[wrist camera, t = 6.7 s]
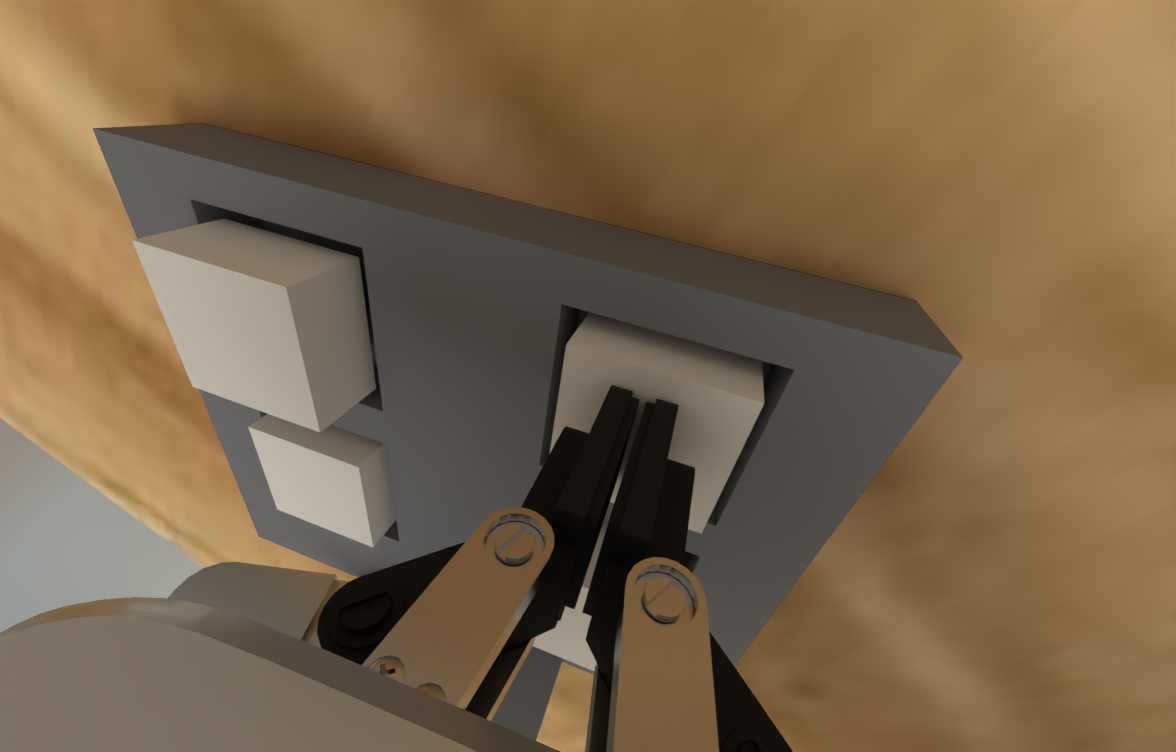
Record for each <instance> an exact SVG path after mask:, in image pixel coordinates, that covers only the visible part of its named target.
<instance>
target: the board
mask: <svg viewBox="0 0 1176 752" xmlns="http://www.w3.org/2000/svg"><path fill="white" fill-rule="evenodd" d="M93 131H94V133H95V135H96V138H97V140H98V143H99V145H100V148H101V150H102V153H103V155H104V158H105V160H106V162H107V165H108V167H109V170H110V172H111V175H112V177H113V180H114V182H115V185H116V187H117V189H118V192H119V194H120V197H121V199H122V202H123V204H124V207H125V209H126V212H127V214H128V216H129V219H130V221H131V224H132V226H133V229H134V231H135V234H136V236H137V239H139V238H143V237H147V236H151V235H156V234H160V233H164V232H168V231H173V230H177V229H181V228H186V227H190V226H194V225H198V224H203V223H207V222H211V221H215V220H220V219H227V220H231V221H234V222H238V223H241V224H245V225H248V226H252V227H255V228H259V229H262V230H266V231H269V232H273V233H276V234H280V235H283V236H287V237H290V238H294V239H297V240H301V241H304V242H308V243H311V244H315V245H318V246H322V247H325V248H329V249H332V250H336V251H339V252H343V253H346V254H350V255H353V256H357V257H359V261H360V269H361V277H362V284H363V292H364V299H365V307H366V315H367V322H368V330H369V337H370V345H371V353H372V360H373V368H374V375H375V383H376V389H375V390H374V391H372V392H371V393H370V394H369V395H367V396H366V397H365V398H363V399H362V400H361V401H360V402H358V403H357V404H356V405H355V406H353V407H352V408H351V409H349V410H348V411H347V412H346V413H344V414H343V415H342V416H341V417H339V418H338V419H337V420H336V421H334V422H333V423H332V424H330V425H332V426H335V427H338V428H341V429H344V430H346V431H349V432H352V433H355V434H358V435H361V436H363V437H366V438H369V439H372V440H375V441H377V442H380V443H383V444H386V445H387V447H388V455H389V463H390V471H391V479H392V487H393V495H394V503H395V511H396V521H395V522H394V523H393V524H392V526H391V527H390V528H389V529H388V530H387V532H386V533H385V534H384V535H383V536H382V538H381V539H380V540H379V541H378V542H377V544H376V545H375V546H374V547H370V546H368V545H365V544H363V543H360V542H358V541H355V540H353V539H350V538H348V537H345V536H343V535H340V534H338V533H335V532H333V531H330V530H328V529H325V528H323V527H320V526H318V525H315V524H313V523H310V522H308V521H305V520H303V519H300V518H298V517H295V516H293V515H290V514H288V513H285V512H282V511H280V510H277V507H276V505H275V502H274V499H273V496H272V493H271V490H270V488H269V485H268V482H267V479H266V476H265V473H264V470H263V468H262V465H261V462H260V459H259V456H258V453H257V451H256V448H255V445H254V442H253V439H252V436H251V433H250V431H249V428H248V426H250V425H251V424H253V423H254V422H256V421H257V420H259V419H260V418H262V417H263V416H265V415H266V414H267V413H264V412H262V411H259V410H256V409H253V408H250V407H248V406H245V405H242V404H239V403H237V402H234V401H231V400H228V399H226V398H223V397H220V396H217V395H214V394H212V393H209V392H206V391H203V390H201V389H199V391H200V393H201V396H202V398H203V401H204V403H205V405H206V408H207V410H208V413H209V415H210V418H211V420H212V423H213V425H214V428H215V430H216V432H217V435H218V437H219V440H220V442H221V445H222V447H223V450H224V452H225V455H226V457H227V459H228V462H229V464H230V467H231V469H232V472H233V474H234V477H235V479H236V482H237V484H238V486H239V489H240V491H241V494H242V496H243V499H244V501H245V504H246V506H247V509H248V511H249V513H250V516H251V518H252V521H253V523H254V526H255V528H256V531H257V533H258V536H259V537H261V538H264V539H266V540H269V541H271V542H273V543H276V544H278V545H281V546H283V547H286V548H288V549H290V550H293V551H295V552H298V553H300V554H303V555H305V556H307V557H310V558H312V559H315V560H317V561H320V562H322V563H324V564H327V565H329V566H332V567H334V568H337V569H339V570H341V571H344V572H346V573H349V574H351V575H353V576H356V577H358V578H359V577H360V576H361V574H362V573H365V574H370V573H373V572H376V571H379V570H382V569H385V568H388V567H391V566H394V565H397V564H400V563H403V562H406V561H409V560H412V559H415V558H418V557H421V556H424V555H427V554H430V553H433V552H436V551H439V550H442V549H445V548H448V547H451V546H454V545H457V544H460V543H463V542H466V541H467V540H468V538H469V537H470V536H471V535H472V534H473V532H474V531H475V530H476V529H477V528H478V527H479V525H480V524H481V523H482V522H483V521H484V520H485V519H486V518H487V517H488V516H490V515H491V514H492V513H495V512H497V511H499V510H501V509H505V508H511V507H520V508H521V506H522V504H523V502H524V501H525V499H526V497H527V495H528V493H529V491H530V489H531V488H532V486H533V484H534V482H535V480H536V478H537V476H538V475H539V473H540V471H541V469H542V467H543V465H544V463H545V462H546V460H547V458H548V456H549V454H550V447H551V440H552V434H553V427H554V421H555V414H556V408H557V401H558V395H559V388H560V382H561V375H562V369H563V362H564V356H565V349H566V344H567V343H568V341H569V340H570V338H571V337H572V336H573V334H574V333H575V332H576V330H577V329H578V328H579V326H580V325H581V323H582V322H583V321H584V319H585V318H586V317H587V315H588V314H589V312H591V313H595V314H598V315H602V316H605V317H609V318H613V319H616V320H620V321H623V322H627V323H630V324H634V325H637V326H641V327H644V328H648V329H652V330H655V331H659V332H662V333H666V334H669V335H673V336H676V337H680V338H683V339H687V340H690V341H694V342H698V343H701V344H705V345H708V346H712V347H715V348H719V349H722V350H726V351H729V352H733V353H737V354H740V355H744V356H747V357H751V358H754V359H758V360H761V361H762V369H763V387H764V405H763V407H762V409H761V411H760V413H759V415H758V418H757V420H756V422H755V424H754V426H753V428H752V430H751V432H750V434H749V436H748V438H747V440H746V442H745V444H744V447H743V449H742V451H741V453H740V455H739V457H738V459H737V461H736V463H735V465H734V467H733V469H732V471H731V474H730V476H729V478H728V480H727V482H726V484H725V486H724V488H723V490H722V492H721V494H720V496H719V498H718V500H717V503H716V505H715V507H714V509H713V511H712V513H711V515H710V517H709V519H708V521H707V523H706V525H705V527H704V529H703V532H702V534H700V533H698V532H695V531H692V530H689V529H688V532H687V540H686V548H685V556H684V564H683V566H684V567H686V568H687V569H689V571H690V572H691V573H692V574H693V575H694V576H695V577H696V578H697V579H698V581H699V583H700V585H701V587H702V588H703V590H704V593H705V598H706V602H707V611H708V623H709V631H710V632H711V634H712V635H713V637H714V638H715V640H716V641H717V643H718V644H719V645H720V647H721V648H722V650H723V651H724V653H725V654H726V656H727V657H728V658H729V660H730V661H731V663H732V664H733V666H734V665H735V663H736V662H737V661H738V659H739V658H740V657H741V655H742V654H743V653H744V651H745V650H746V649H747V647H748V646H749V645H750V643H751V642H752V641H753V639H754V638H755V637H756V635H757V634H758V633H759V631H760V630H761V628H762V627H763V626H764V624H765V623H766V622H767V620H768V619H769V618H770V616H771V615H772V614H773V612H774V611H775V610H776V608H777V607H778V606H779V604H780V603H781V602H782V600H783V599H784V598H785V596H786V595H787V594H788V592H789V591H790V590H791V588H792V587H793V585H794V584H795V583H796V581H797V580H798V579H799V577H800V576H801V575H802V573H803V572H804V571H805V569H806V568H807V567H808V565H809V564H810V563H811V561H812V560H813V559H814V557H815V556H816V555H817V553H818V552H819V551H820V549H821V548H822V547H823V545H824V544H825V542H826V541H827V540H828V538H829V537H830V536H831V534H832V533H833V532H834V530H835V529H836V528H837V526H838V525H839V524H840V522H841V521H842V520H843V518H844V517H845V516H846V514H847V513H848V512H849V510H850V509H851V508H852V506H853V505H854V504H855V502H856V501H857V499H858V498H859V497H860V495H861V494H862V493H863V491H864V490H865V489H866V487H867V486H868V485H869V483H870V482H871V481H872V479H873V478H874V477H875V475H876V474H877V473H878V471H879V470H880V469H881V467H882V466H883V465H884V463H885V462H886V461H887V459H888V458H889V456H890V455H891V454H892V452H893V451H894V450H895V448H896V447H897V446H898V444H899V443H900V442H901V440H902V439H903V438H904V436H905V435H906V434H907V432H908V431H909V430H910V428H911V427H912V426H913V424H914V423H915V422H916V420H917V419H918V418H919V416H920V415H921V413H922V412H923V411H924V409H925V408H926V407H927V405H928V404H929V403H930V401H931V400H932V399H933V397H934V396H935V395H936V393H937V392H938V391H939V389H940V388H941V387H942V385H943V384H944V383H945V381H946V380H947V379H948V377H949V376H950V375H951V373H952V372H953V370H954V369H955V368H956V366H957V365H958V364H959V362H960V361H961V360H962V358H963V357H962V356H961V355H960V353H959V352H958V351H957V350H956V349H955V347H954V346H953V345H952V344H951V343H950V341H949V340H948V339H947V338H946V337H945V335H944V334H943V333H942V332H941V330H940V329H939V328H938V327H937V326H936V324H935V323H934V322H933V321H932V320H931V318H930V317H929V316H928V315H927V313H926V312H925V311H924V310H923V309H922V307H921V306H920V305H919V304H918V303H917V301H914V300H910V299H906V298H902V297H898V296H894V295H890V294H886V293H882V292H878V291H873V290H869V289H865V288H861V287H857V286H853V285H849V284H845V283H841V282H837V281H833V280H829V279H825V278H821V277H817V276H813V275H809V274H805V273H801V272H797V271H793V270H789V269H785V268H781V267H777V266H773V265H769V264H765V263H761V262H757V261H753V260H749V259H745V258H741V257H737V256H733V255H729V254H725V253H721V252H717V251H713V250H709V249H705V248H701V247H697V246H693V245H689V244H685V243H681V242H677V241H673V240H669V239H665V238H661V237H657V236H653V235H649V234H645V233H641V232H637V231H633V230H629V229H625V228H621V227H617V226H613V225H609V224H605V223H601V222H597V221H593V220H588V219H584V218H580V217H576V216H572V215H568V214H564V213H560V212H556V211H552V210H548V209H544V208H540V207H536V206H532V205H528V204H524V203H520V202H516V201H512V200H508V199H504V198H500V197H496V196H492V195H488V194H484V193H480V192H476V191H472V190H468V189H464V188H460V187H456V186H452V185H448V184H444V183H440V182H436V181H432V180H428V179H424V178H420V177H416V176H412V175H408V174H404V173H400V172H396V171H392V170H388V169H384V168H380V167H376V166H372V165H368V164H364V163H360V162H356V161H352V160H348V159H344V158H340V157H336V156H332V155H328V154H324V153H320V152H316V151H312V150H308V149H304V148H299V147H295V146H291V145H287V144H283V143H279V142H275V141H271V140H267V139H263V138H259V137H255V136H251V135H247V134H243V133H239V132H235V131H231V130H227V129H223V128H219V127H215V126H211V125H207V124H203V123H193V124H173V125H153V126H132V127H112V128H93ZM613 506H614V503H611V502H610V503H609V506H608V509H607V512H606V515H605V518H604V521H603V522H604V523H607V524H608V522H609V518H610V515H611V512H612V509H613ZM562 662H565V663H567V664H569V665H572V666H574V667H577V668H579V669H581V670H584V671H586V672H589V673H591V674H594V671H592V670H590V669H587V668H585V667H582V666H580V665H578V664H575V663H573V662H570V661H568V660H565V659H562Z"/></svg>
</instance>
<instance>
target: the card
mask: <svg viewBox="0 0 1176 752" xmlns="http://www.w3.org/2000/svg"><path fill="white" fill-rule="evenodd" d="M364 575H367V574H365V573H362V574H361V576H364ZM361 576H360V577H361ZM562 659H563V658H560V657H558V656H556V655H553V654H551V653H548V652H546V651H543V650H541V649H539V648H536V647H534V646H532V648H531V650H530V651H529V653H528V655H527V657H526V659H525V660H524V662H523V664H522V666H521V668H520V669H519V671H518V673H517V675H516V677H515V678H514V680H513V682H512V684H511V686H510V687H509V689H508V691H507V693H506V695H505V696H504V698H503V700H502V702H501V704H500V705H499V707H498V709H497V711H496V713H495V714H494V716H493V718H492V720H491V722H493V723H496V724H498V725H500V726H503V727H505V728H507V729H510V730H512V731H514V732H516V733H519V734H521V735H523V736H526V737H528V738H530V739H532V740H535V741H536V739H537V736H538V733H539V730H540V727H541V724H542V721H543V718H544V715H545V712H546V709H547V706H548V702H549V699H550V696H551V693H552V690H553V687H554V684H555V681H556V678H557V675H558V672H559V669H560V666H561V663H562Z"/></svg>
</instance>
